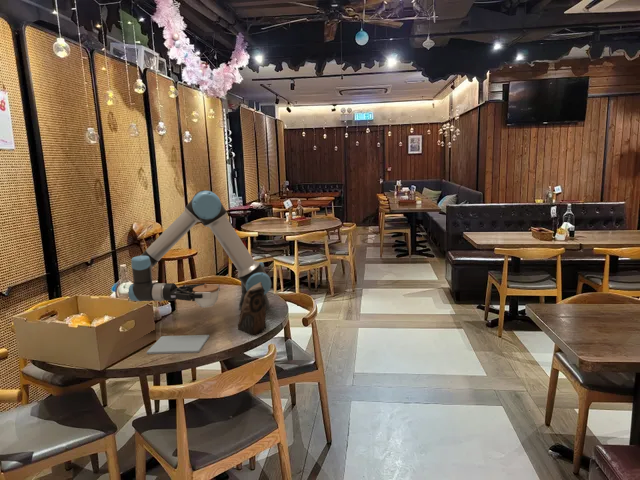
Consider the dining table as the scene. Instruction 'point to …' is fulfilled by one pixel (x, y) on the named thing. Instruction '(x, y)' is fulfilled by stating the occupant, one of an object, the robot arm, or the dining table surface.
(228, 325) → the dining table surface
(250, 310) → the owl
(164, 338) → the mat
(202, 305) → the lidded jar
